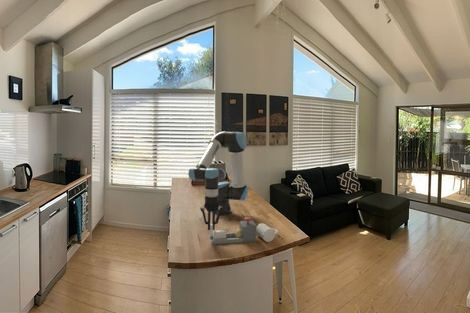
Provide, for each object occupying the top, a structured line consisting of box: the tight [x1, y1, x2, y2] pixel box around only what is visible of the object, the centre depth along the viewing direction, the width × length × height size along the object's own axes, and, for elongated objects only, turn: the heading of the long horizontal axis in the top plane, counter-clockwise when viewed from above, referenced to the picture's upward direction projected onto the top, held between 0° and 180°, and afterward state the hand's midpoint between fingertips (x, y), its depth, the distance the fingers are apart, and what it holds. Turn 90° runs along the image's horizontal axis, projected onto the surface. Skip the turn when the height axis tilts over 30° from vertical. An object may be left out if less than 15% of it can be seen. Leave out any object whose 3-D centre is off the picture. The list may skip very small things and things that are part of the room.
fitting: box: [213, 229, 227, 240], centre depth 157 cm, size 6×7×6 cm
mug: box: [256, 223, 279, 243], centre depth 164 cm, size 12×10×8 cm
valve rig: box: [209, 216, 258, 245], centre depth 159 cm, size 10×26×13 cm, turn 102°
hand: (211, 235), depth 156 cm, fingers closed
